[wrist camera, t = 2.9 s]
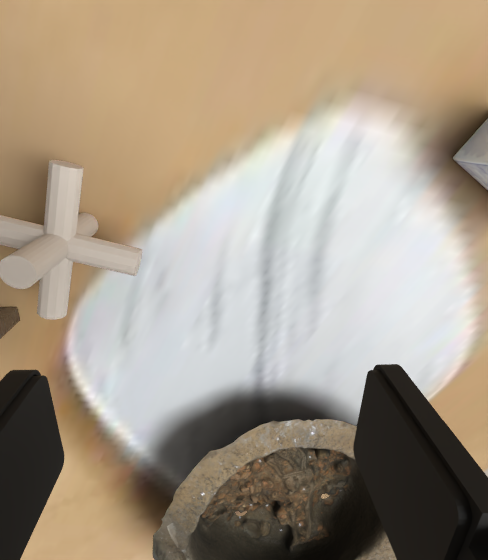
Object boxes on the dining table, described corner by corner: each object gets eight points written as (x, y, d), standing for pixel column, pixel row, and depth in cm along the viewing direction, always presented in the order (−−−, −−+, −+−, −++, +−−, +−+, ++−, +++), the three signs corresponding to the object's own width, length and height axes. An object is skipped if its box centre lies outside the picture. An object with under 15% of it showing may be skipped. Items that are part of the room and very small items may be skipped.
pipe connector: (164, 177, 26) (134, 202, 17) (140, 296, 30) (105, 371, 20) (19, 137, 25) (-101, 140, 15) (13, 268, 28) (-88, 335, 19)
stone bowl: (214, 568, 44) (210, 669, 35) (135, 409, 36) (104, 489, 28) (411, 519, 42) (457, 613, 34) (372, 342, 35) (419, 404, 26)
